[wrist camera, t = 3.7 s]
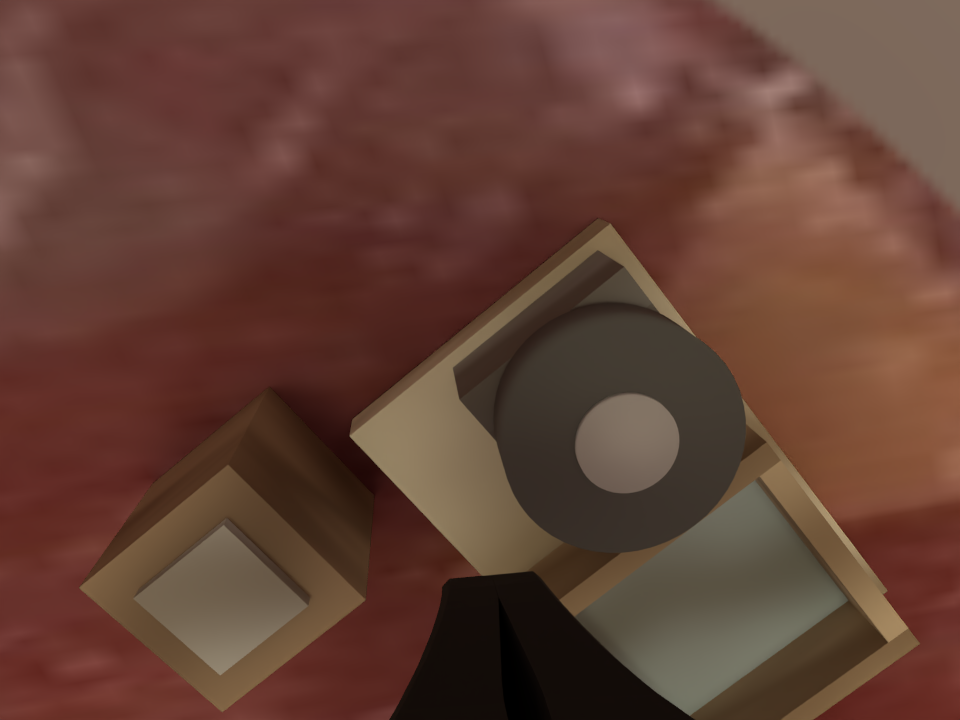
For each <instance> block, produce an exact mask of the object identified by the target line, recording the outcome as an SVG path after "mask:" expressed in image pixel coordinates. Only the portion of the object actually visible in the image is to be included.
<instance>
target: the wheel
mask: <svg viewBox="0 0 960 720" xmlns="http://www.w3.org/2000/svg"><path fill="white" fill-rule="evenodd" d="M493 422H494V432H495V438H496V442H497V446H498V450H499V453H500V456H501V460H502V463H503V467H504V470H505V473H506V477H507V480H508V482H509V485H510V487H511V490H512V492H513V494H514V496H515V498H516V499H517V501H518V503H519V505H520V506H521V507H522V509H523V510H524V511H525V512H526V514H527V515H528V516H529V517H530V518H531V519H532V520H533V521H534V522H535V523H536V524H537V525H538V526H539V527H540V528H542V529H543V530H544V531H546V532H547V533H549V534H550V535H551V536H553V537H555V538H557V539H559V540H561V541H562V542H564V543H567V544H570V545H572V546H575V547H577V548H581V549H585V550H590V551H595V552H604V553H624V552H632V551H639V550H643V549H647V548H651V547H654V546H657V545H660V544H662V543H665V542H668V541H670V540H672V539H673V538H675V537H677V536H679V535H681V534H683V533H684V532H686V531H687V530H689V529H690V528H692V527H693V526H695V525H696V524H697V523H698V522H699V521H701V520H702V519H703V518H704V517H705V516H707V515H708V513H709V512H710V511H711V510H712V509H713V508H714V507H715V506H716V505H717V504H718V502H719V501H720V500H721V498H722V497H723V496H724V494H725V493H726V491H727V490H728V488H729V486H730V484H731V483H732V481H733V479H734V477H735V475H736V472H737V470H738V467H739V465H740V462H741V458H742V454H743V451H744V444H745V437H746V417H745V410H744V404H743V400H742V397H741V393H740V390H739V388H738V385H737V383H736V381H735V379H734V377H733V375H732V373H731V372H730V370H729V369H728V367H727V366H726V364H725V363H724V362H723V361H722V359H721V358H720V357H719V356H718V355H717V354H716V353H715V352H714V351H713V350H712V349H711V348H710V347H708V346H707V345H706V344H705V343H704V342H702V341H701V340H700V339H698V338H697V337H695V336H694V335H692V334H691V333H690V332H688V331H687V330H685V329H684V328H683V327H681V326H680V325H678V324H677V323H675V322H674V321H672V320H671V319H669V318H668V317H666V316H664V315H662V314H660V313H658V312H656V311H653V310H651V309H648V308H644V307H641V306H637V305H631V304H625V303H602V304H593V305H589V306H585V307H581V308H577V309H574V310H572V311H569V312H566V313H564V314H562V315H560V316H558V317H556V318H554V319H552V320H551V321H549V322H547V323H546V324H545V325H543V326H542V327H540V328H539V329H538V330H536V331H535V332H534V333H533V334H532V335H531V336H530V337H529V338H528V339H527V340H525V342H524V343H523V344H522V345H521V346H520V348H519V349H518V350H517V351H516V352H515V354H514V355H513V357H512V358H511V360H510V362H509V363H508V365H507V367H506V369H505V371H504V373H503V375H502V377H501V380H500V383H499V386H498V389H497V392H496V398H495V403H494V417H493Z"/></svg>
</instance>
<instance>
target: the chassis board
mask: <svg viewBox="0 0 960 720" xmlns="http://www.w3.org/2000/svg"><path fill="white" fill-rule="evenodd" d="M602 303H625V304H631V305H637V306H641V307H644V308H648V309H651V310H653V311H656V312H658V313H660V314H662V315H664V316H666V317H668V318H669V319H671V320H672V321H674V322H675V323H677V324H678V325H680V326H681V327H683V328H684V329H685V330H687V331H688V332H690V333H691V334H692V335H694V334H693V332H692V331H691V330H690V328H689V327H688V326H687V324H686V323H685V322H684V320H683V319H682V318H681V316H680V315H679V314H678V313H677V311H676V310H675V309H674V307H673V306H672V305H671V303H670V302H669V301H668V299H667V298H666V297H665V295H664V294H663V293H662V291H661V290H660V289H659V287H658V286H657V285H656V283H655V282H654V281H653V279H652V278H651V277H650V275H649V274H648V273H647V271H646V270H645V269H644V267H643V266H642V265H641V263H640V262H639V261H638V260H637V258H636V257H635V256H634V254H633V253H632V252H631V250H630V249H629V248H628V246H627V245H626V244H625V242H624V241H623V240H622V238H621V237H620V236H619V234H618V233H617V232H616V230H615V229H614V228H613V226H612V225H611V224H610V223H608V222H606V221H604V220H602V219H599V218H598V219H597V220H596V221H594V222H593V223H592V224H591V225H589V226H588V227H587V228H586V229H584V230H583V231H582V232H581V233H580V234H578V235H577V236H576V237H575V238H573V239H572V240H571V241H570V242H569V243H567V244H566V245H565V246H564V247H562V248H561V249H560V250H559V251H558V252H556V253H555V254H554V255H553V256H551V257H550V258H549V259H548V260H547V261H545V262H544V263H543V264H542V265H540V266H539V267H538V268H537V269H536V270H534V271H533V272H532V273H531V274H529V275H528V276H527V277H526V278H525V279H523V280H522V281H521V282H520V283H518V284H517V285H516V286H515V287H514V288H512V289H511V290H510V291H509V292H507V293H506V294H505V295H504V296H503V297H501V298H500V299H499V300H498V301H496V302H495V303H494V304H493V305H492V306H490V307H489V308H488V309H487V310H485V311H484V312H483V313H482V314H480V315H479V316H478V317H477V318H476V319H474V320H473V321H472V322H471V323H469V324H468V325H467V326H466V327H465V328H463V329H462V330H461V331H460V332H458V333H457V334H456V335H455V336H454V337H452V338H451V339H450V340H449V341H447V342H446V343H445V344H444V345H443V346H441V347H440V348H439V349H438V350H436V351H435V352H434V353H433V354H432V355H430V356H429V357H428V358H427V359H425V360H424V361H423V362H422V363H421V364H419V365H418V366H417V367H416V368H414V369H413V370H412V371H411V372H410V373H408V374H407V375H406V376H405V377H403V378H402V379H401V380H400V381H399V382H397V383H396V384H395V385H394V386H392V387H391V388H390V389H389V390H388V391H386V392H385V393H384V394H383V395H381V396H380V397H379V398H378V399H376V400H375V401H374V402H373V403H372V404H370V405H369V406H368V407H367V408H365V409H364V410H363V411H362V412H361V413H359V414H358V415H357V416H356V417H354V418H353V419H352V424H351V430H350V437H351V438H352V439H353V440H354V441H355V443H356V444H357V445H358V446H359V447H360V448H361V449H362V450H363V451H364V452H365V453H366V454H367V455H368V456H369V457H370V458H371V459H372V460H373V461H374V463H375V464H376V465H377V466H378V467H379V468H380V469H381V470H382V471H383V472H384V473H385V474H386V475H387V476H388V477H389V478H390V479H391V480H392V481H393V483H394V484H395V485H396V486H397V487H398V488H399V489H400V490H401V491H402V492H403V493H404V494H405V495H406V496H407V497H408V498H409V499H410V500H411V501H412V503H413V504H414V505H415V506H416V507H417V508H418V509H419V510H420V511H421V512H422V513H423V514H424V515H425V516H426V517H427V518H428V519H429V520H430V521H431V523H432V524H433V525H434V526H435V527H436V528H437V529H438V530H439V531H440V532H441V533H442V534H443V535H444V536H445V537H446V538H447V539H448V540H449V541H450V543H451V544H452V545H453V546H454V547H455V548H456V549H457V550H458V551H459V552H460V553H461V554H462V555H463V556H464V557H465V558H466V559H467V560H468V561H469V563H470V564H471V565H472V566H473V567H474V568H475V569H476V570H477V571H478V572H479V573H480V574H481V575H482V576H486V575H491V576H492V575H496V574H507V573H517V572H528V571H534V572H535V573H536V574H537V575H538V576H539V577H540V578H541V579H542V580H543V581H544V582H545V584H546V585H547V586H548V587H549V589H550V590H551V591H552V592H553V593H554V594H555V596H556V597H557V598H558V599H559V600H560V601H561V603H562V604H563V605H564V606H565V607H566V608H567V609H568V610H569V611H570V613H571V614H572V615H573V616H574V617H575V618H576V619H577V620H578V621H579V622H580V623H581V624H582V625H583V626H584V627H585V628H586V629H587V630H588V631H589V632H590V633H591V634H592V635H593V636H594V637H595V638H596V639H597V640H598V641H599V642H600V643H601V644H602V645H603V646H604V647H605V648H606V649H607V650H608V651H609V652H610V653H611V654H612V655H613V656H614V657H615V658H617V659H618V660H619V661H620V662H621V663H622V664H623V665H624V666H625V667H627V668H628V669H629V670H630V671H631V672H632V673H634V674H635V675H636V676H637V677H638V678H639V679H641V680H642V681H643V682H644V683H645V684H647V685H648V686H649V687H650V688H652V689H653V690H654V691H655V692H657V693H658V694H659V695H661V696H662V697H664V698H665V699H666V700H668V701H669V702H671V703H672V704H674V705H675V706H676V707H678V708H679V709H681V710H682V711H684V712H685V713H686V714H688V715H689V716H691V717H692V718H694V719H695V720H813V719H815V718H816V717H818V716H819V715H820V714H822V713H823V712H825V711H826V710H827V709H829V708H830V707H832V706H833V705H834V704H836V703H837V702H839V701H840V700H842V699H843V698H844V697H846V696H847V695H849V694H850V693H851V692H853V691H854V690H856V689H857V688H858V687H860V686H861V685H863V684H864V683H865V682H867V681H868V680H870V679H871V678H872V677H874V676H875V675H877V674H878V673H879V672H881V671H882V670H884V669H885V668H887V667H888V666H889V665H891V664H892V663H894V662H895V661H896V660H898V659H899V658H901V657H902V656H903V655H905V654H906V653H908V652H909V651H910V650H912V649H913V648H915V647H916V646H917V645H919V644H920V643H919V642H918V641H917V639H916V638H915V637H914V635H913V634H912V633H911V631H910V630H909V629H908V627H907V626H906V625H905V623H904V622H903V621H902V619H901V618H900V617H899V616H898V614H897V613H896V612H895V610H894V609H893V608H892V606H891V605H890V604H889V602H888V601H887V600H886V598H885V597H884V596H883V594H884V593H886V592H887V589H886V588H885V587H884V585H883V584H882V583H881V582H880V580H879V579H878V578H877V576H876V575H875V574H874V572H873V571H872V570H871V568H870V567H869V566H868V564H867V563H866V562H865V560H864V559H863V558H862V556H861V555H860V554H859V552H858V551H857V550H856V548H855V547H854V546H853V544H852V543H851V542H850V540H849V539H848V538H847V536H846V535H845V534H844V532H843V531H842V530H841V529H840V527H839V526H838V525H837V523H836V522H835V521H834V519H833V518H832V517H831V515H830V514H829V513H828V511H827V510H826V509H825V507H824V506H823V505H822V503H821V502H820V501H819V499H818V498H817V497H816V495H815V494H814V493H813V491H812V490H811V489H810V487H809V486H808V485H807V483H806V482H805V481H804V479H803V478H802V477H801V476H800V474H799V473H798V472H797V470H796V469H795V468H794V466H793V465H792V464H791V462H790V461H789V460H788V458H787V457H786V456H785V454H784V453H783V452H782V450H781V449H780V448H779V446H778V445H777V444H776V442H775V441H774V440H773V438H772V437H771V436H770V434H769V433H768V432H767V430H766V429H765V428H764V426H763V425H762V424H761V422H760V421H759V420H758V419H757V417H756V416H755V415H754V413H753V412H752V411H751V409H750V408H749V407H748V405H747V404H746V403H745V401H744V400H743V399H742V400H743V404H744V410H745V417H746V437H745V444H744V451H743V454H742V458H741V462H740V465H739V467H738V470H737V472H736V475H735V477H734V479H733V481H732V483H731V484H730V486H729V488H728V490H727V491H726V493H725V494H724V496H723V497H722V498H721V500H720V501H719V502H718V504H717V505H716V506H715V507H714V508H713V509H712V510H711V511H710V512H709V513H708V515H707V516H705V517H704V518H703V519H702V520H701V521H699V522H698V523H697V524H696V525H695V526H693V527H692V528H690V529H689V530H687V531H686V532H684V533H683V534H681V535H679V536H677V537H675V538H673V539H672V540H670V541H668V542H665V543H662V544H660V545H657V546H654V547H651V548H647V549H643V550H639V551H632V552H624V553H604V552H595V551H590V550H585V549H581V548H577V547H575V546H572V545H570V544H567V543H564V542H562V541H561V540H559V539H557V538H555V537H553V536H551V535H550V534H549V533H547V532H546V531H544V530H543V529H542V528H540V527H539V526H538V525H537V524H536V523H535V522H534V521H533V520H532V519H531V518H530V517H529V516H528V515H527V514H526V512H525V511H524V510H523V509H522V507H521V506H520V505H519V503H518V501H517V499H516V498H515V496H514V494H513V492H512V490H511V487H510V485H509V482H508V480H507V477H506V473H505V470H504V467H503V463H502V460H501V456H500V453H499V450H498V446H497V442H496V438H495V432H494V422H493V417H494V403H495V398H496V392H497V389H498V386H499V383H500V380H501V377H502V375H503V373H504V371H505V369H506V367H507V365H508V363H509V362H510V360H511V358H512V357H513V355H514V354H515V352H516V351H517V350H518V349H519V348H520V346H521V345H522V344H523V343H524V342H525V340H527V339H528V338H529V337H530V336H531V335H532V334H533V333H534V332H535V331H536V330H538V329H539V328H540V327H542V326H543V325H545V324H546V323H547V322H549V321H551V320H552V319H554V318H556V317H558V316H560V315H562V314H564V313H566V312H569V311H572V310H574V309H577V308H581V307H585V306H589V305H593V304H602ZM694 336H695V335H694ZM695 337H696V336H695Z"/></svg>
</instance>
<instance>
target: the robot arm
mask: <svg viewBox="0 0 960 720" xmlns="http://www.w3.org/2000/svg"><path fill="white" fill-rule="evenodd" d="M390 720H695V719H694V718H692V717H691V716H689V715H688V714H686V713H685V712H684V711H682V710H681V709H679V708H678V707H676V706H675V705H674V704H672V703H671V702H669V701H668V700H666V699H665V698H664V697H662V696H661V695H659V694H658V693H657V692H655V691H654V690H653V689H652V688H650V687H649V686H648V685H647V684H645V683H644V682H643V681H642V680H641V679H639V678H638V677H637V676H636V675H635V674H634V673H632V672H631V671H630V670H629V669H628V668H627V667H625V666H624V665H623V664H622V663H621V662H620V661H619V660H618V659H617V658H615V657H614V656H613V655H612V654H611V653H610V652H609V651H608V650H607V649H606V648H605V647H604V646H603V645H602V644H601V643H600V642H599V641H598V640H597V639H596V638H595V637H594V636H593V635H592V634H591V633H590V632H589V631H588V630H587V629H586V628H585V627H584V626H583V625H582V624H581V623H580V622H579V621H578V620H577V619H576V618H575V617H574V616H573V615H572V614H571V613H570V611H569V610H568V609H567V608H566V607H565V606H564V605H563V604H562V603H561V601H560V600H559V599H558V598H557V597H556V596H555V594H554V593H553V592H552V591H551V590H550V589H549V587H548V586H547V585H546V584H545V582H544V581H543V580H542V579H541V578H540V577H539V576H538V575H537V574H536V573H535V572H534V571H528V572H517V573H507V574H496V575H492V576H491V575H486V576H475V577H465V578H454V579H449V580H448V581H447V582H446V583H445V584H444V586H443V587H442V598H441V603H440V607H439V611H438V615H437V618H436V621H435V624H434V627H433V630H432V633H431V635H430V638H429V640H428V643H427V645H426V648H425V650H424V652H423V655H422V657H421V660H420V662H419V664H418V667H417V669H416V671H415V673H414V675H413V677H412V679H411V681H410V683H409V685H408V686H407V688H406V690H405V692H404V694H403V696H402V698H401V700H400V702H399V704H398V706H397V708H396V709H395V711H394V713H393V714H392V716H391V718H390Z"/></svg>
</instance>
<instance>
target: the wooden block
mask: <svg viewBox="0 0 960 720" xmlns="http://www.w3.org/2000/svg"><path fill="white" fill-rule="evenodd" d="M373 508H374V495H373V494H372V493H371V492H370V491H369V490H368V488H367V487H366V486H365V485H364V484H363V483H362V482H361V481H360V480H359V479H358V478H357V477H356V476H355V475H354V474H353V473H352V472H351V471H350V470H349V469H348V468H347V467H346V466H345V465H344V464H343V463H342V461H341V460H340V459H339V458H338V457H337V456H336V455H335V454H334V453H333V452H332V451H331V450H330V449H329V448H328V447H327V446H326V445H325V444H324V443H323V442H322V441H321V440H320V439H319V438H318V437H317V436H316V435H315V433H314V432H313V431H312V430H311V429H310V428H309V427H308V426H307V425H306V424H305V423H304V422H303V421H302V420H301V419H300V418H299V417H298V416H297V415H296V414H295V413H294V412H293V411H292V410H291V409H290V408H289V406H288V405H287V404H286V403H285V402H284V401H283V400H282V399H281V398H280V397H279V396H278V395H277V394H276V393H275V392H274V391H273V390H272V389H271V388H270V387H268V388H267V389H266V390H264V391H263V392H262V393H261V394H260V395H258V396H257V397H256V398H255V399H254V400H252V401H251V402H250V403H249V404H248V405H246V406H245V407H244V408H243V409H242V410H240V411H239V412H238V413H237V414H236V415H234V416H233V417H232V418H231V419H230V420H228V421H227V422H226V423H225V424H224V425H222V426H221V427H220V428H219V429H218V430H216V431H215V432H214V433H213V434H212V435H210V436H209V437H208V438H207V439H206V440H204V441H203V442H202V443H201V444H200V445H198V446H197V447H196V448H195V449H194V450H192V451H191V452H190V453H189V454H188V455H186V456H185V457H184V458H183V459H182V460H180V461H179V462H178V463H177V464H176V465H174V466H173V467H172V468H171V469H170V470H168V471H167V472H166V473H165V474H164V475H162V476H161V477H160V478H159V479H158V480H156V481H155V482H154V483H153V484H152V485H151V487H150V488H149V490H148V491H147V493H146V494H145V495H144V497H143V498H142V500H141V501H140V502H139V504H138V505H137V507H136V508H135V509H134V511H133V512H132V514H131V515H130V516H129V518H128V519H127V521H126V522H125V523H124V525H123V526H122V528H121V529H120V531H119V532H118V533H117V535H116V536H115V538H114V539H113V540H112V542H111V543H110V545H109V546H108V547H107V549H106V550H105V552H104V553H103V554H102V556H101V557H100V559H99V560H98V561H97V563H96V564H95V566H94V567H93V568H92V570H91V571H90V573H89V574H88V576H87V577H86V578H85V580H84V581H83V583H82V584H81V585H80V587H79V588H80V589H81V590H82V591H83V592H84V593H85V594H86V595H88V596H89V597H90V598H91V599H92V600H93V601H95V602H96V603H97V604H98V605H99V606H100V607H101V608H103V609H104V610H105V611H106V612H107V613H108V614H110V615H111V616H112V617H113V618H114V619H115V620H116V621H118V622H119V623H120V624H121V625H122V626H123V627H125V628H126V629H127V630H128V631H129V632H130V633H131V634H133V635H134V636H135V637H136V638H137V639H138V640H140V641H141V642H142V643H143V644H144V645H145V646H146V647H148V648H149V649H150V650H151V651H152V652H153V653H155V654H156V655H157V656H158V657H159V658H160V659H161V660H163V661H164V662H165V663H166V664H167V665H168V666H170V667H171V668H172V669H173V670H174V671H175V672H176V673H178V674H179V675H180V676H181V677H182V678H183V679H185V680H186V681H187V682H188V683H189V684H190V685H191V686H193V687H194V688H195V689H196V690H197V691H198V692H200V693H201V694H202V695H203V696H204V697H205V698H206V699H208V700H209V701H210V702H211V703H212V704H213V705H215V706H216V707H217V708H218V709H219V710H220V711H221V712H223V711H224V710H226V709H227V708H228V707H230V706H231V705H232V704H233V703H235V702H236V701H237V700H239V699H240V698H241V697H242V696H244V695H245V694H246V693H247V692H249V691H250V690H251V689H253V688H254V687H255V686H256V685H258V684H259V683H260V682H262V681H263V680H264V679H265V678H267V677H268V676H269V675H270V674H272V673H273V672H274V671H276V670H277V669H278V668H279V667H281V666H282V665H283V664H285V663H286V662H287V661H288V660H290V659H291V658H292V657H294V656H295V655H296V654H297V653H299V652H300V651H301V650H302V649H304V648H305V647H306V646H308V645H309V644H310V643H311V642H313V641H314V640H315V639H317V638H318V637H319V636H320V635H322V634H323V633H324V632H325V631H327V630H328V629H329V628H331V627H332V626H333V625H334V624H336V623H337V622H338V621H340V620H341V619H342V618H343V617H345V616H346V615H347V614H349V613H350V612H351V611H352V610H354V609H355V608H356V607H357V606H359V605H360V604H361V603H363V602H364V601H365V600H366V591H367V579H368V568H369V556H370V544H371V532H372V520H373Z"/></svg>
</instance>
